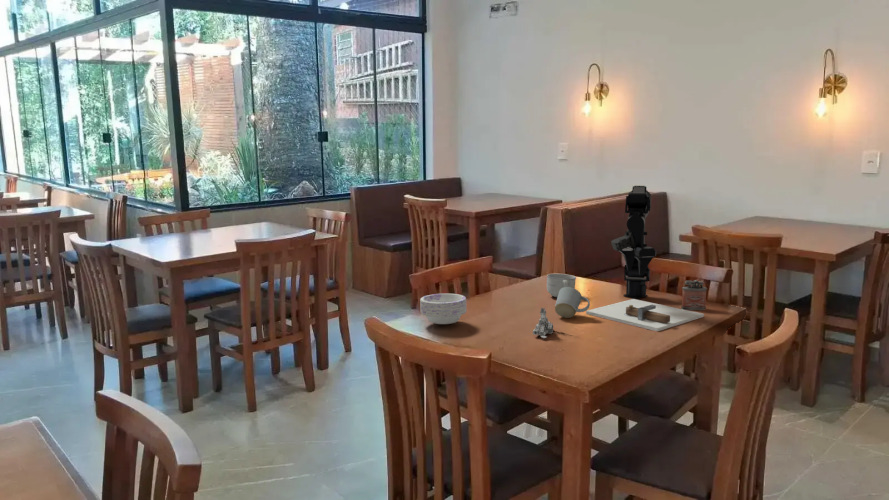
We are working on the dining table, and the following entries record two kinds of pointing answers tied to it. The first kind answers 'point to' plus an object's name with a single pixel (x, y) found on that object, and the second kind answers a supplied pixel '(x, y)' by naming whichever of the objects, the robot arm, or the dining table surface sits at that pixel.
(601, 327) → the dining table surface
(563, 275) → the teacup
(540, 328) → the grey irregular piece
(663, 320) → the link
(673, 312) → the pivot board
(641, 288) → the robot arm
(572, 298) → the ceramic mug
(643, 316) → the keeper
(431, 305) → the white speckled bowl
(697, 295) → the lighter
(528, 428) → the salt and pepper shakers
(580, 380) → the dining table surface
